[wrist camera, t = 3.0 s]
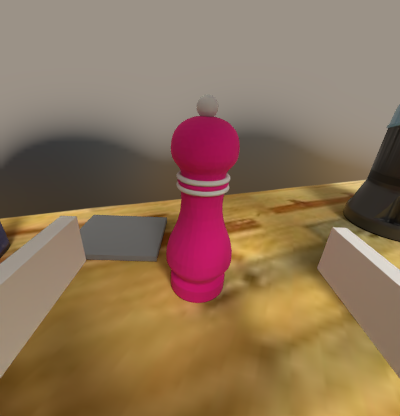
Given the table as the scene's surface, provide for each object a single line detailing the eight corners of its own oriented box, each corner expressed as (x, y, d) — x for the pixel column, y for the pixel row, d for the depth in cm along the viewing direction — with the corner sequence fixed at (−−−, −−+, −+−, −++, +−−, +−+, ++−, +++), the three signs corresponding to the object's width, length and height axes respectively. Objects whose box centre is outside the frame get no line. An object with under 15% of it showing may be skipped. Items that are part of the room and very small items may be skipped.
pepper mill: (155, 278, 26) (145, 91, 17) (200, 255, 30) (210, 97, 21) (193, 320, 21) (205, 89, 12) (239, 285, 25) (272, 98, 17)
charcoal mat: (166, 221, 38) (166, 217, 38) (156, 261, 28) (156, 256, 28) (94, 218, 38) (93, 214, 38) (58, 258, 28) (56, 253, 28)
